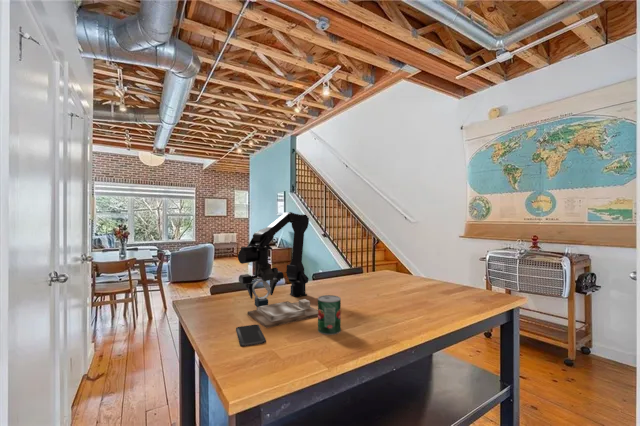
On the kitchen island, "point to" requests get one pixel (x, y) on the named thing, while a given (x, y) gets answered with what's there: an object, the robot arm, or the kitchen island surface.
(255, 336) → the phone
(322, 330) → the canned tomato
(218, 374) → the kitchen island surface
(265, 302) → the watch
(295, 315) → the charging board
